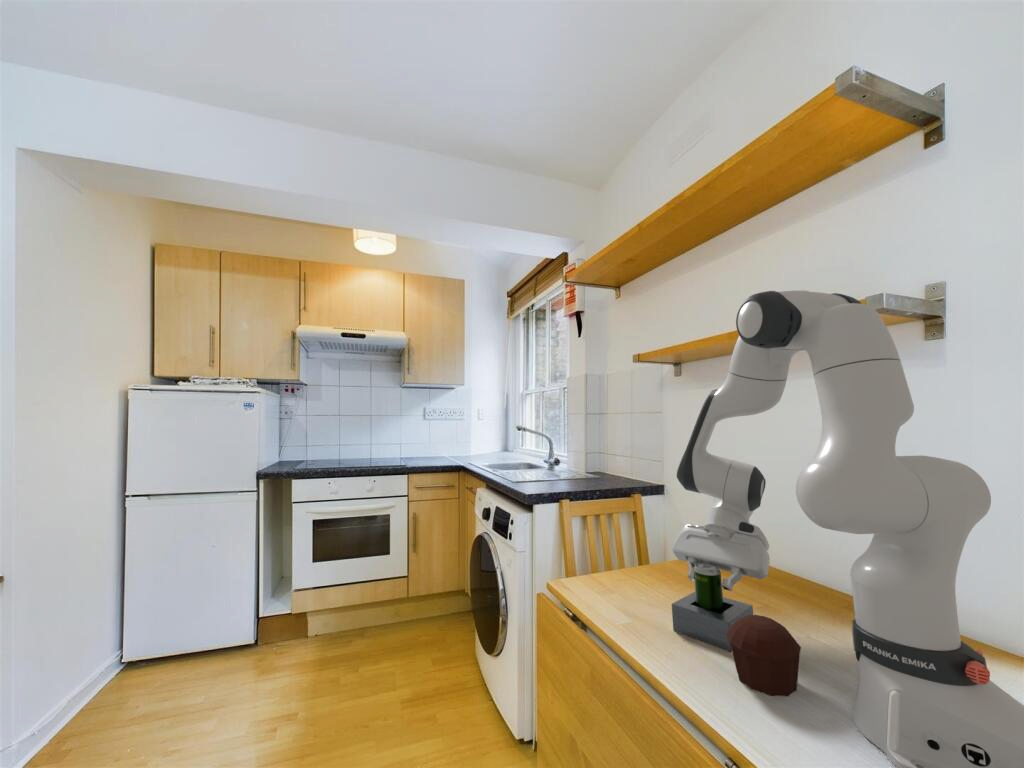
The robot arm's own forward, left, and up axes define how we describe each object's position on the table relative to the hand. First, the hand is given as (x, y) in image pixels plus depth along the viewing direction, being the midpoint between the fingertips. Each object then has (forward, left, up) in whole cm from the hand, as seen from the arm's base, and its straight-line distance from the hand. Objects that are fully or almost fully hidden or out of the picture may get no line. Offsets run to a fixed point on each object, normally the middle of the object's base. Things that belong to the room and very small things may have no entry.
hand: (708, 583), depth 90 cm
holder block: (0, -1, -10) cm, 10 cm away
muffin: (-14, +10, -10) cm, 20 cm away
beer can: (0, 0, -9) cm, 9 cm away
